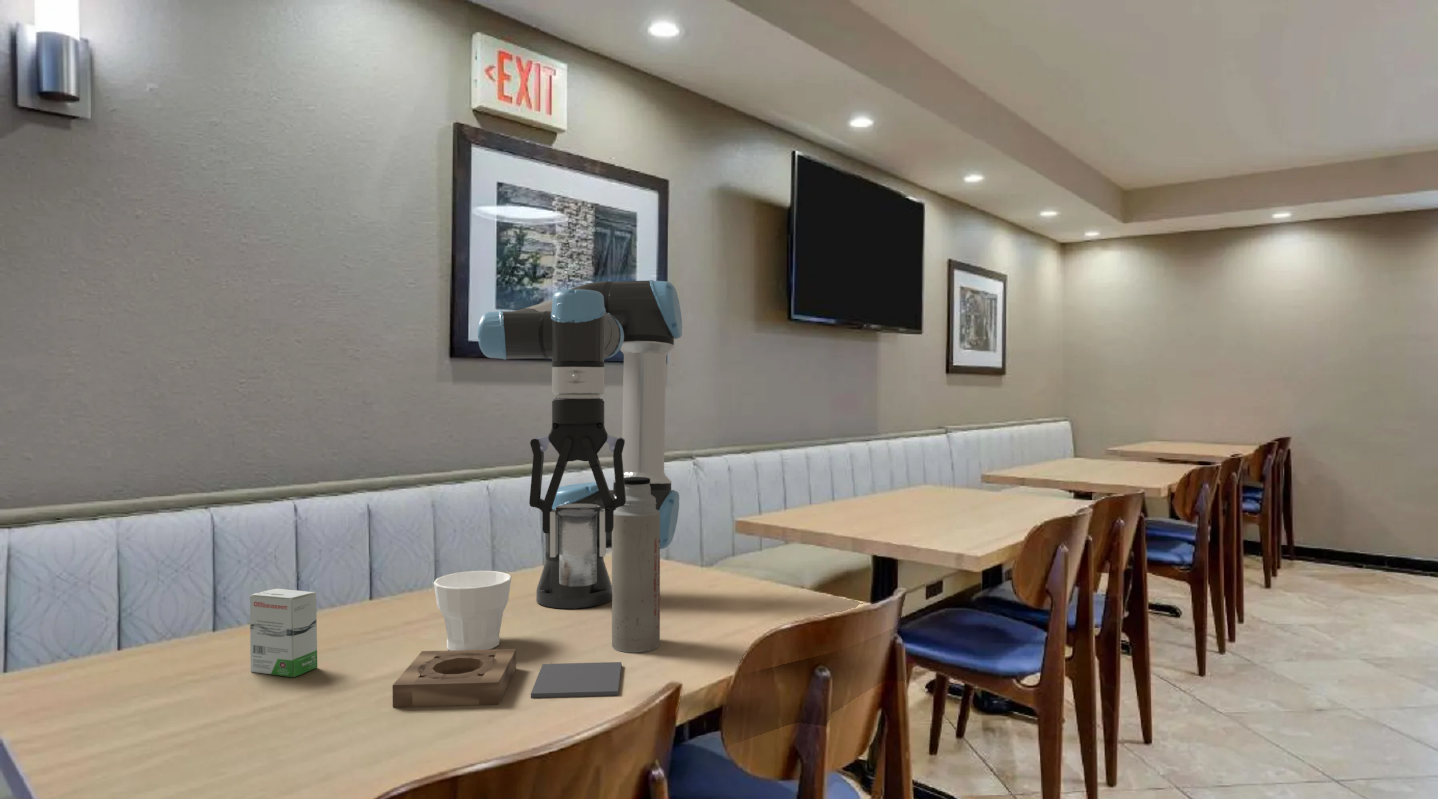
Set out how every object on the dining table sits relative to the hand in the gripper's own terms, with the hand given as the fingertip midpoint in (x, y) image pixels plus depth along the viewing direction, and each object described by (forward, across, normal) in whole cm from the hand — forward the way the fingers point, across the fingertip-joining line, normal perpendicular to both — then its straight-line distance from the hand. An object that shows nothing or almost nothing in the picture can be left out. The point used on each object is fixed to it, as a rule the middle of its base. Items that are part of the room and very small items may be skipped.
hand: (578, 554), depth 119 cm
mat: (+19, 0, 0) cm, 19 cm away
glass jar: (+4, 0, 0) cm, 4 cm away
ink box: (+19, -45, +8) cm, 49 cm away
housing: (+19, -17, -1) cm, 25 cm away
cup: (+19, -19, +18) cm, 32 cm away
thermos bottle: (+19, +8, +16) cm, 26 cm away
